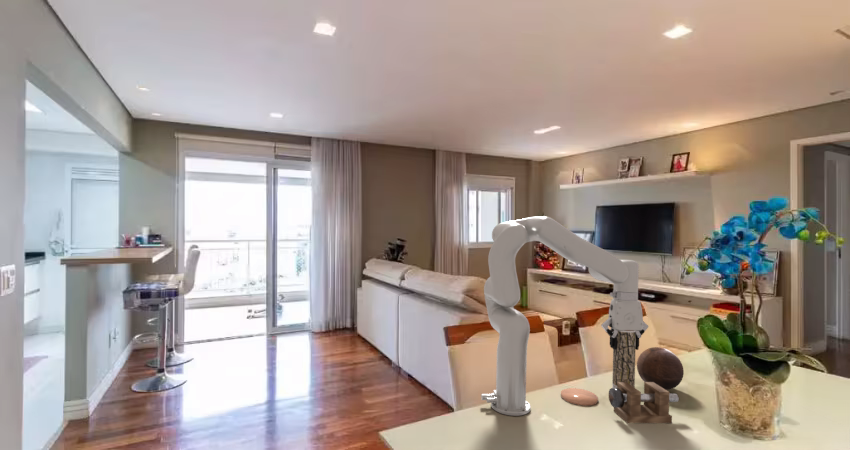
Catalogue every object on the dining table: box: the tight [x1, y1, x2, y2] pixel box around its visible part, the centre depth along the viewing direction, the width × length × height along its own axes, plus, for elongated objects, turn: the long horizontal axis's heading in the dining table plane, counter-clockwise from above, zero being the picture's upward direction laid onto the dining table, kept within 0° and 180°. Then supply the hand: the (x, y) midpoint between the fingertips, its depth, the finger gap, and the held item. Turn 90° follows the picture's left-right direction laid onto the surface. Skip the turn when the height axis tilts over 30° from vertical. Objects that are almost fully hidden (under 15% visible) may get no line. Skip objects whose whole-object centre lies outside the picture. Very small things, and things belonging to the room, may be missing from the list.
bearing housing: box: [613, 381, 673, 424], centre depth 129 cm, size 14×8×9 cm, turn 94°
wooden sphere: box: [636, 346, 684, 391], centre depth 152 cm, size 15×15×15 cm
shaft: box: [608, 387, 680, 409], centre depth 129 cm, size 20×6×6 cm, turn 94°
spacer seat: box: [560, 387, 599, 407], centre depth 142 cm, size 12×12×1 cm
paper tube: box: [611, 330, 636, 388], centre depth 140 cm, size 7×7×25 cm
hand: (624, 348), depth 140 cm, fingers closed on paper tube, 6 cm apart
